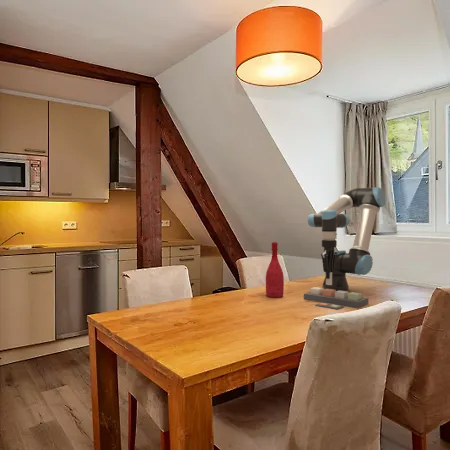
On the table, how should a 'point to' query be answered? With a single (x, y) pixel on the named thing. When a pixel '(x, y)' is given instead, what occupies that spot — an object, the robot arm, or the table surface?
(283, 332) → the table surface
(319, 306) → the placard
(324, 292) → the key terracotta
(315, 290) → the key ivory
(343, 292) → the key beige
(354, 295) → the key sage
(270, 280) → the wine bottle
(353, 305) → the keypad
